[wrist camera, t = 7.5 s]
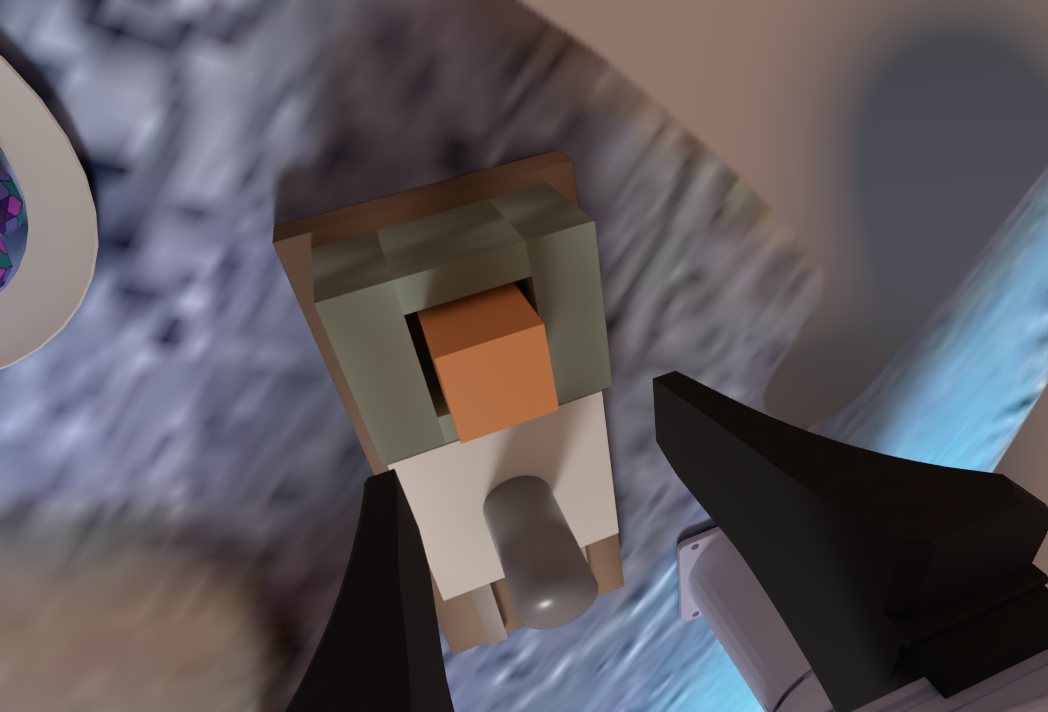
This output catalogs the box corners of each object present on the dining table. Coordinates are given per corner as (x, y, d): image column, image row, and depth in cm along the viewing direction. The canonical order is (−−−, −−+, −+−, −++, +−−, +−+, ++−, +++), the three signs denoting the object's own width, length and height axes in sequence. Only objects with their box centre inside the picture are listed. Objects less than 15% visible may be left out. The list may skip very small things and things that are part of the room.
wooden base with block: (556, 150, 21) (625, 194, 17) (612, 564, 35) (658, 649, 31) (273, 226, 20) (268, 298, 15) (447, 630, 33) (470, 730, 29)
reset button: (511, 278, 18) (544, 323, 16) (527, 358, 20) (559, 410, 18) (415, 307, 18) (434, 358, 15) (440, 386, 20) (460, 443, 17)
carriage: (580, 363, 24) (664, 474, 18) (600, 501, 28) (671, 622, 23) (380, 430, 22) (408, 571, 17) (434, 563, 27) (469, 708, 21)
